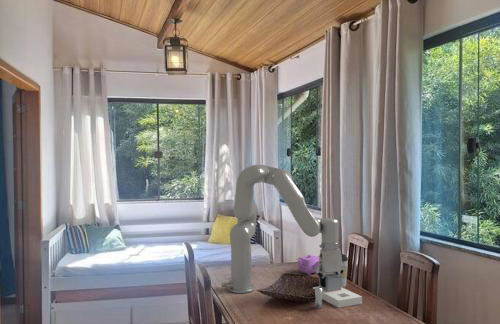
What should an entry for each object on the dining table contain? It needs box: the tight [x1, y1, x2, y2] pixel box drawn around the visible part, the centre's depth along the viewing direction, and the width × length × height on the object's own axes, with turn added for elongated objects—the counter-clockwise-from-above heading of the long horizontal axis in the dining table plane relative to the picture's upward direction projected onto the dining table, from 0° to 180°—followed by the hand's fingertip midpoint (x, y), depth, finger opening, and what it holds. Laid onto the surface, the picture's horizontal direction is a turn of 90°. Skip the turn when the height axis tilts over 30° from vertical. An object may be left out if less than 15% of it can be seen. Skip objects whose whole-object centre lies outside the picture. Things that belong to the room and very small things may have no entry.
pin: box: [314, 286, 323, 309], centre depth 183 cm, size 3×3×8 cm
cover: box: [318, 273, 341, 291], centre depth 198 cm, size 7×7×6 cm
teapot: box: [296, 254, 321, 276], centre depth 236 cm, size 18×13×10 cm
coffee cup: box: [332, 253, 349, 288], centre depth 214 cm, size 9×9×15 cm
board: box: [312, 286, 363, 309], centre depth 193 cm, size 12×20×3 cm, turn 24°
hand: (330, 285), depth 198 cm, fingers closed on cover, 7 cm apart
